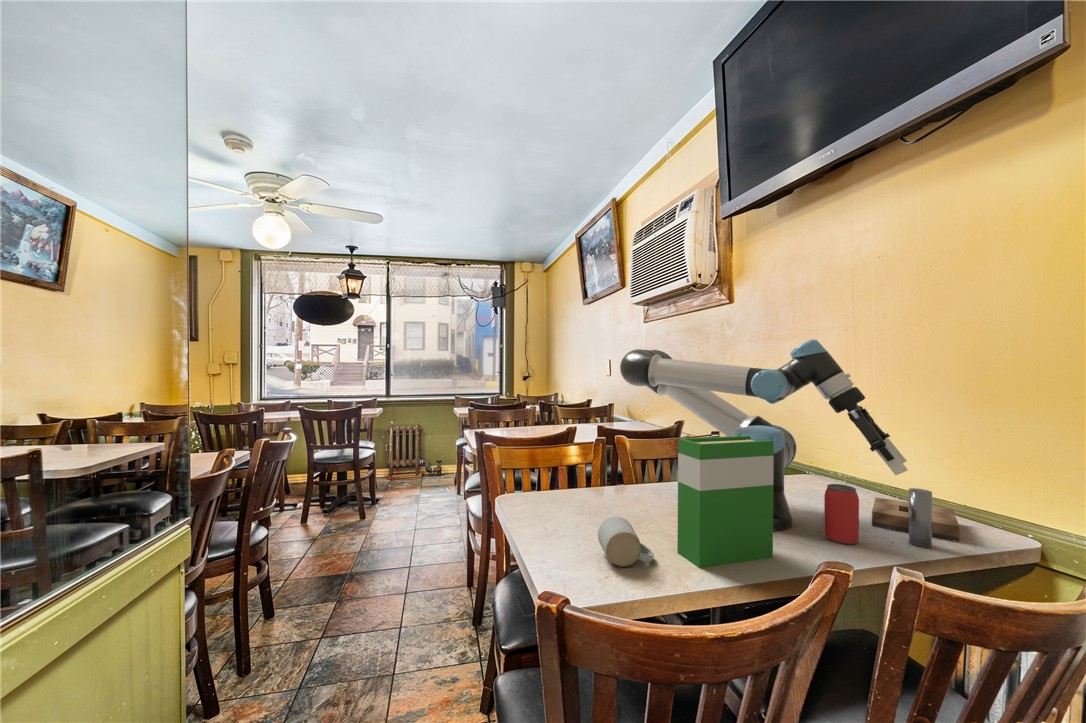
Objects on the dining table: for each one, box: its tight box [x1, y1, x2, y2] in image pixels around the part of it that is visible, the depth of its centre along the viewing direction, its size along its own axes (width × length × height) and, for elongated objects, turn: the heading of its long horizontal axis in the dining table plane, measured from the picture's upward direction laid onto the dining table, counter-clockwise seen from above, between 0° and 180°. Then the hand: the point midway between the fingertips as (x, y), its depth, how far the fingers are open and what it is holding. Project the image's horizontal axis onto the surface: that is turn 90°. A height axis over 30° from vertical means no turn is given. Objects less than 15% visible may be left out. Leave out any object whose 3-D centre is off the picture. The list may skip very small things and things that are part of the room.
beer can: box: [823, 483, 860, 545], centre depth 103 cm, size 7×7×12 cm
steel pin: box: [908, 487, 933, 549], centre depth 101 cm, size 4×4×12 cm
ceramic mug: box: [597, 515, 655, 568], centre depth 91 cm, size 11×8×8 cm
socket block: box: [871, 496, 960, 542], centre depth 114 cm, size 16×16×4 cm
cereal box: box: [676, 436, 774, 569], centre depth 94 cm, size 18×7×24 cm, turn 107°
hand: (901, 468), depth 109 cm, fingers open, 13 cm apart
